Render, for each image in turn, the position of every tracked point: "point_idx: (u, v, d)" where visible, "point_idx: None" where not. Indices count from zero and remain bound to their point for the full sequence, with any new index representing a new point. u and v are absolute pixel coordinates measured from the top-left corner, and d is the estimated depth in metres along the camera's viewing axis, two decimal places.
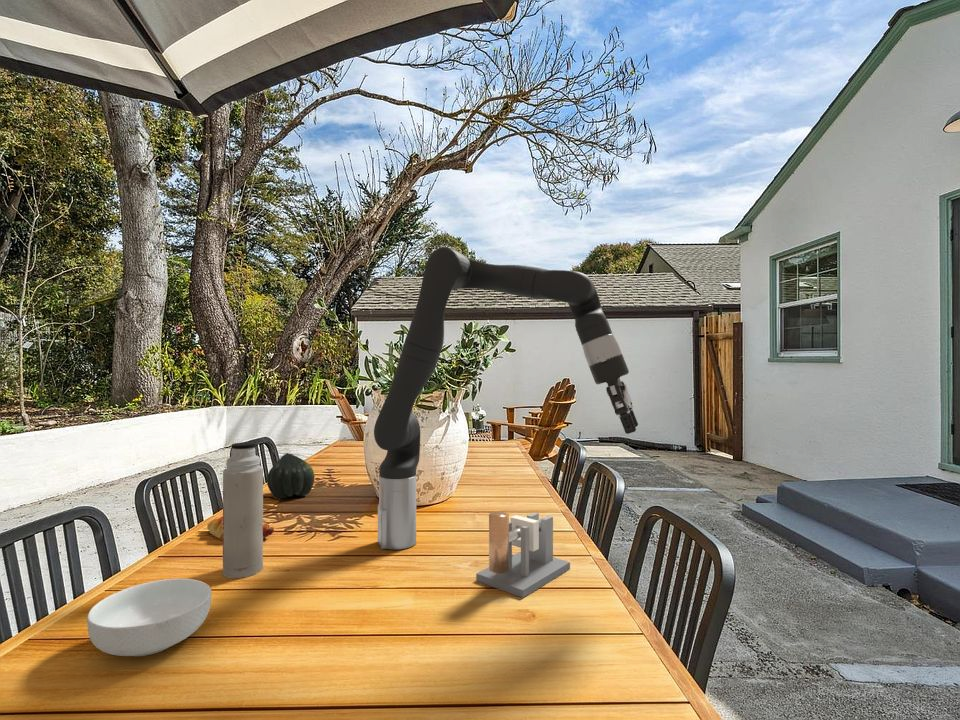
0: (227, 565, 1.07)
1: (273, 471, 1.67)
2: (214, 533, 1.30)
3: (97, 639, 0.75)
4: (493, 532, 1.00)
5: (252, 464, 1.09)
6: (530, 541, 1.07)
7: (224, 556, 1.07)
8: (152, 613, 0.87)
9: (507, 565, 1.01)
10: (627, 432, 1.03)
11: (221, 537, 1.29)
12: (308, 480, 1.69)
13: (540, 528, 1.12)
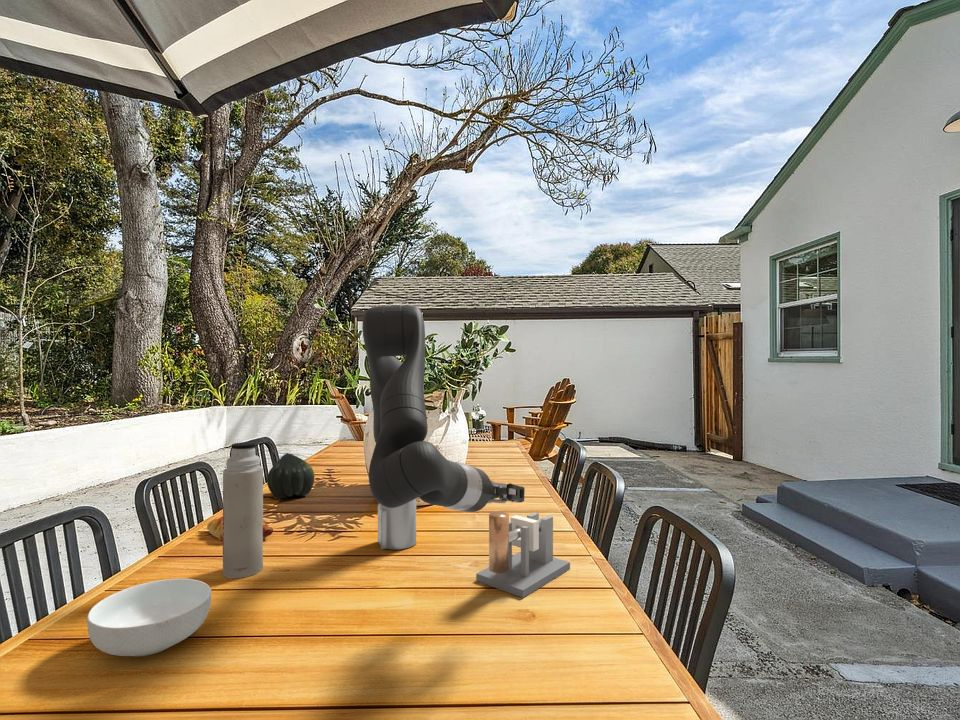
0: (227, 565, 1.07)
1: (273, 471, 1.67)
2: (213, 533, 1.30)
3: (97, 639, 0.75)
4: (493, 532, 1.00)
5: (252, 464, 1.09)
6: (530, 541, 1.07)
7: (224, 556, 1.07)
8: (152, 613, 0.87)
9: (507, 565, 1.01)
10: None
11: (220, 537, 1.28)
12: (308, 480, 1.69)
13: (540, 528, 1.12)
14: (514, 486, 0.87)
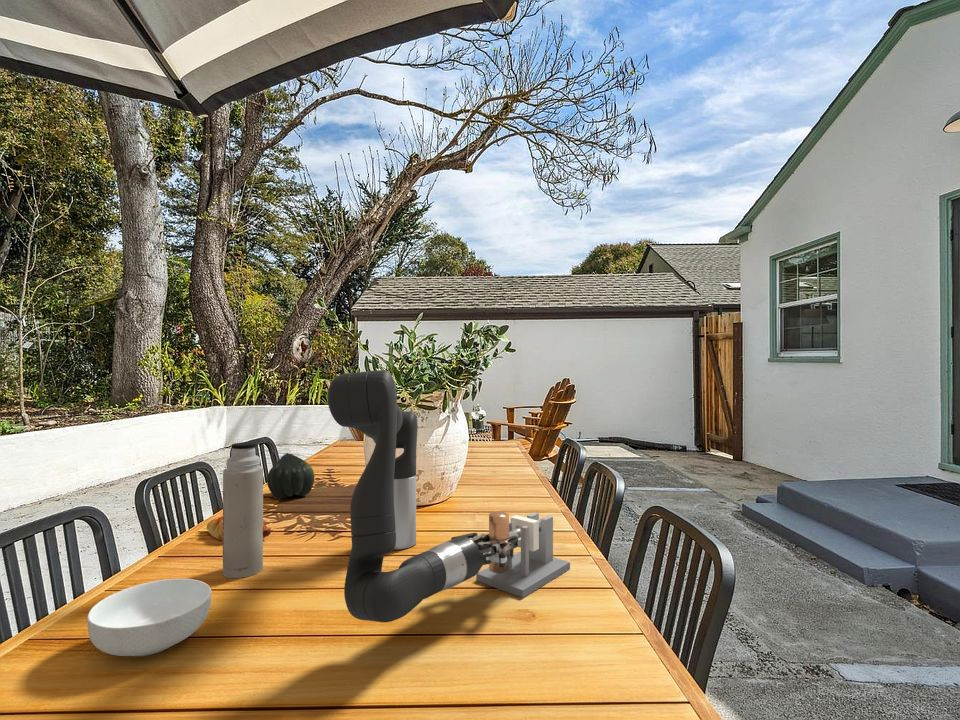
0: (227, 565, 1.07)
1: (273, 471, 1.67)
2: (212, 533, 1.30)
3: (97, 639, 0.75)
4: (493, 532, 1.00)
5: (252, 464, 1.09)
6: (530, 541, 1.07)
7: (224, 556, 1.07)
8: (152, 613, 0.87)
9: (507, 565, 1.01)
10: None
11: (219, 537, 1.28)
12: (308, 480, 1.69)
13: (540, 528, 1.12)
14: (506, 554, 0.93)
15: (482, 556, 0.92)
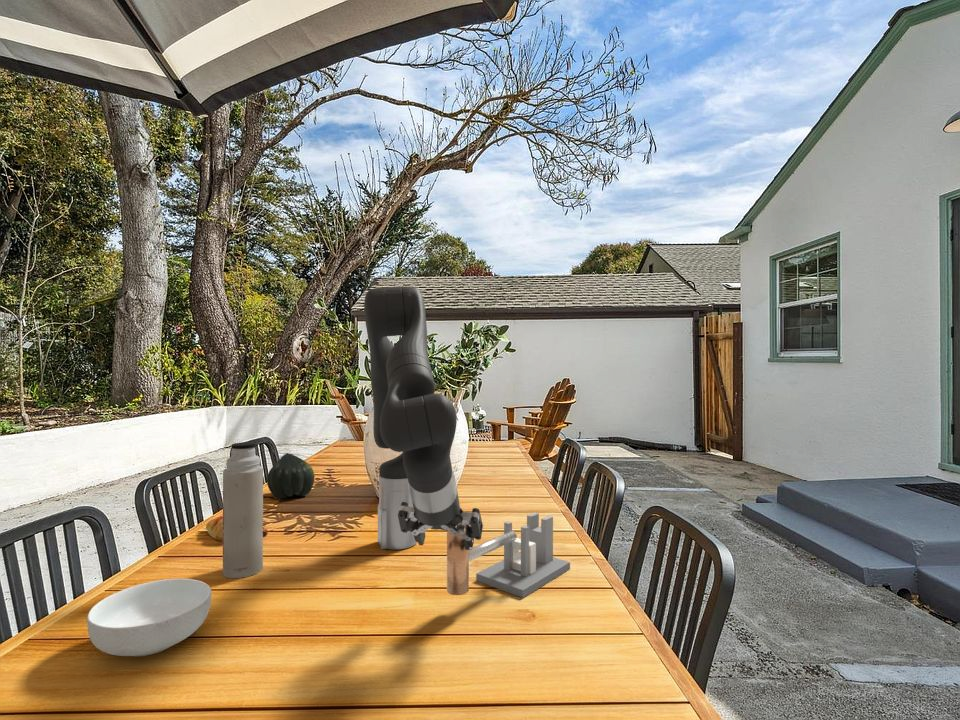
0: (227, 565, 1.07)
1: (273, 471, 1.67)
2: (210, 533, 1.30)
3: (97, 639, 0.75)
4: (450, 550, 0.91)
5: (252, 464, 1.09)
6: None
7: (224, 556, 1.07)
8: (152, 613, 0.87)
9: (466, 585, 0.91)
10: None
11: (216, 538, 1.28)
12: (308, 480, 1.69)
13: (507, 543, 1.03)
14: (479, 513, 0.85)
15: (459, 505, 0.84)
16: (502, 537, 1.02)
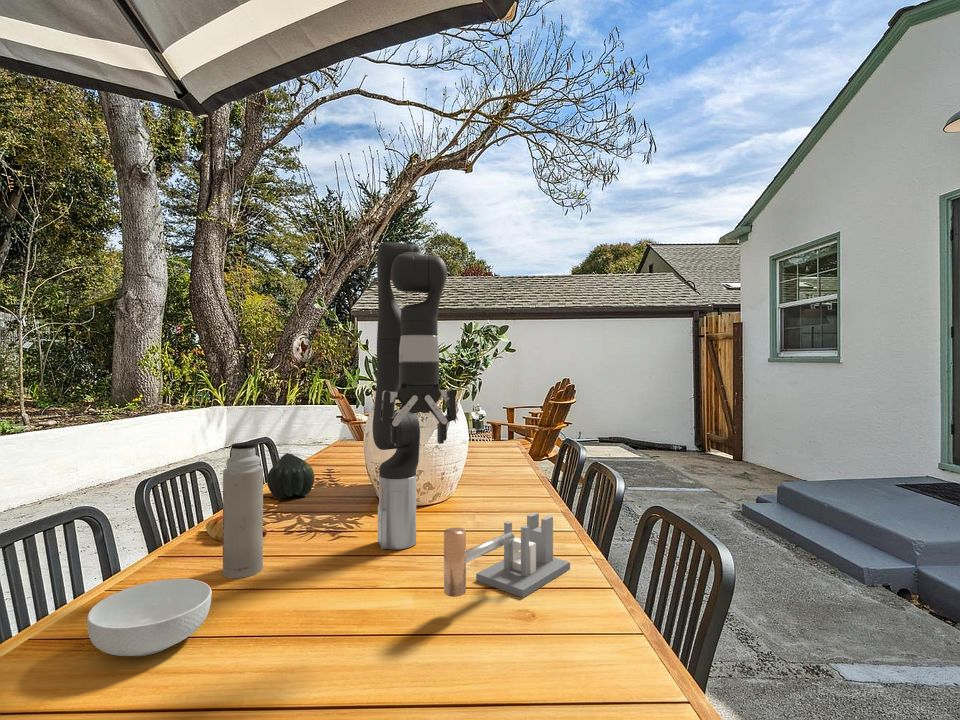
0: (227, 565, 1.07)
1: (273, 471, 1.67)
2: (210, 533, 1.30)
3: (97, 639, 0.75)
4: (447, 551, 0.90)
5: (252, 464, 1.09)
6: None
7: (224, 556, 1.07)
8: (152, 613, 0.87)
9: (463, 587, 0.91)
10: (394, 443, 0.95)
11: (215, 538, 1.28)
12: (308, 480, 1.69)
13: (505, 544, 1.02)
14: None
15: None
16: (500, 538, 1.02)
